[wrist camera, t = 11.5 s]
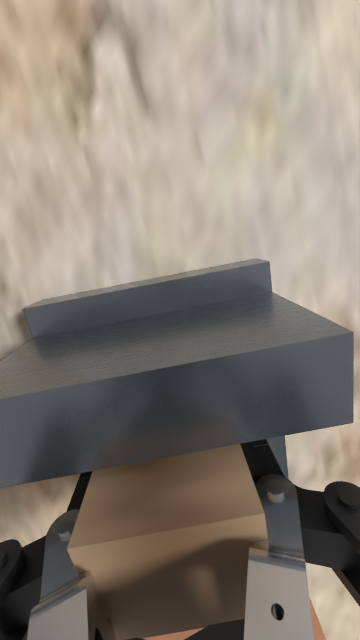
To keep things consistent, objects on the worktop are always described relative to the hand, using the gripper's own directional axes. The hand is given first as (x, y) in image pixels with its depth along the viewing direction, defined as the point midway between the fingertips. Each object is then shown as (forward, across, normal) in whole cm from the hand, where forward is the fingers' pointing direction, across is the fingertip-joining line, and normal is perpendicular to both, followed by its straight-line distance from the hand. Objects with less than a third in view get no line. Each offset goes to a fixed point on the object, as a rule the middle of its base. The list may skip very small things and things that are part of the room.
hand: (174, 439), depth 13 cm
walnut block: (+1, 0, 0) cm, 1 cm away
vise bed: (+4, 0, +5) cm, 7 cm away
